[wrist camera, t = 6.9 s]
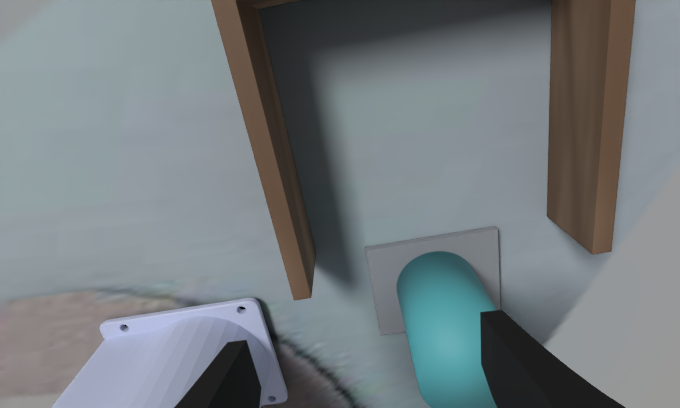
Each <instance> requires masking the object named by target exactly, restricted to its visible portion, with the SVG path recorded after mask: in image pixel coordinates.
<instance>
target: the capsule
mask: <svg viewBox="0 0 680 408" xmlns="http://www.w3.org/2000/svg"><path fill="white" fill-rule="evenodd" d="M396 288H397V295H398V299H399V304H400V308H401V312H402V317H403V321H404V325H405V330H406V334H407V338H408V343H409V347H410V351H411V356H412V360H413V364H414V369H415V373H416V377H417V382H418V386H419V390H420V393H421V396H422V397H423V399H424V400H425V402H426V403H427V404H428V405H429V406H430V407H432V408H497V406H496V404H495V402H494V400H493V397H492V395H491V392H490V389H489V386H488V383H487V380H486V377H485V374H484V371H483V368H482V365H481V326H480V312H486V311H494V310H497V309H496V307H495V306H494V304H493V302H492V301H491V299H490V297H489V295H488V294H487V292H486V290H485V289H484V287H483V285H482V283H481V282H480V280H479V278H478V277H477V275H476V273H475V272H474V270H473V268H472V267H471V265H470V264H469V263H468V262H467V261H466V260H465V259H464V258H462V257H461V256H459V255H457V254H454V253H451V252H445V251H435V252H429V253H425V254H422V255H420V256H418V257H416V258H415V259H413V260H412V261H410V262H409V263H408V264H407V265H406V266H405V267H404V268H403V270H402V271H401V273H400V275H399V277H398V280H397V287H396Z"/></svg>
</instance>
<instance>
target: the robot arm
mask: <svg viewBox="0 0 680 408" xmlns="http://www.w3.org/2000/svg"><path fill="white" fill-rule="evenodd" d="M240 306H243V307H244V308H245V309H240V308H239V307H240ZM124 325H127V326H128V327H126V326H124ZM480 326H481V365H482V368H483V371H484V374H485V377H486V380H487V383H488V386H489V389H490V392H491V395H492V397H493V400H494V402H495V404H496V406H497V408H625V407H624V406H622V405H621V404H619V403H618V402H616V401H615V400H613V399H611V398H610V397H608V396H607V395H605V394H604V393H602V392H601V391H600V390H598V389H597V388H595V387H594V386H593V385H591V384H590V383H588V382H587V381H586V380H585V379H583V378H582V377H581V376H579V375H578V374H577V373H575V372H574V371H573V370H571V369H570V368H569V367H567V366H566V365H565V364H564V363H562V362H561V361H560V360H559V359H558V358H556V357H555V356H554V355H553V354H551V353H550V352H549V351H548V350H547V349H545V348H544V347H543V346H542V345H541V344H539V343H538V342H537V341H536V340H535V339H534V338H532V337H531V336H530V335H529V334H528V333H527V332H526V331H525V330H523V329H522V328H521V327H520V326H519V325H518V324H517V323H516V322H515V321H513V320H512V319H511V318H510V317H509V316H508V315H507V314H506V313H505V312H503V311H502V310H494V311H486V312H480ZM100 332H101V334H102V336H103V337H104V339H105V340H104V341H103V342H102V344H101V345H100V346H99V347H98V349H97V350H96V351H95V352H94V354H93V355H92V356H91V358H90V359H89V360H88V361H87V363H86V364H85V365H84V367H83V368H82V369H81V370H80V372H79V373H78V374H77V375H76V377H75V378H74V379H73V381H72V382H71V383H70V384H69V386H68V387H67V388H66V390H65V391H64V392H63V393H62V395H61V396H60V397H59V398H58V400H57V401H56V402H55V404H54V405H53V406H52V408H261V406H263V405H270V404H277V403H283V402H285V401H286V400H287V398H288V391H287V388H286V385H285V382H284V379H283V375H282V372H281V369H280V366H279V363H278V360H277V357H276V353H275V350H274V347H273V344H272V341H271V338H270V335H269V331H268V328H267V325H266V322H265V319H264V316H263V313H262V310H261V306H260V303H259V302H258V301H257V300H256V299H254V298H245V299H238V300H232V301H225V302H219V303H213V304H206V305H200V306H193V307H187V308H180V309H174V310H168V311H161V312H155V313H148V314H142V315H135V316H129V317H123V318H116V319H110V320H106V321H104V322H103V323H102V325H101V326H100ZM271 396H274V397H271Z"/></svg>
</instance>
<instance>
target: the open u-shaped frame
mask: <svg viewBox="0 0 680 408" xmlns="http://www.w3.org/2000/svg"><path fill="white" fill-rule="evenodd" d="M295 1H299V0H211V2H212V6H213V9H214V13H215V16H216V20H217V24H218V27H219V31H220V35H221V38H222V42H223V45H224V49H225V53H226V56H227V60H228V63H229V67H230V71H231V74H232V78H233V82H234V85H235V89H236V92H237V96H238V100H239V103H240V107H241V110H242V114H243V118H244V121H245V125H246V129H247V132H248V136H249V139H250V143H251V147H252V150H253V154H254V158H255V161H256V165H257V168H258V172H259V176H260V179H261V183H262V186H263V190H264V194H265V197H266V201H267V205H268V208H269V212H270V215H271V219H272V223H273V226H274V230H275V234H276V237H277V241H278V244H279V248H280V252H281V255H282V259H283V262H284V266H285V270H286V273H287V277H288V281H289V284H290V288H291V291H292V295H293V299H294V300H300V299H307V298H311V295H312V286H313V277H314V267H315V258H316V251H315V247H314V243H313V239H312V234H311V230H310V226H309V222H308V217H307V213H306V209H305V205H304V201H303V196H302V192H301V188H300V184H299V179H298V175H297V171H296V167H295V163H294V158H293V154H292V150H291V146H290V141H289V137H288V133H287V129H286V125H285V120H284V116H283V112H282V108H281V103H280V99H279V95H278V91H277V87H276V82H275V78H274V74H273V70H272V65H271V61H270V57H269V53H268V49H267V44H266V40H265V36H264V32H263V27H262V23H261V19H260V15H259V11H258V9H261V8H266V7H270V6H275V5H280V4H285V3H290V2H295ZM635 3H636V0H552V21H551V64H550V107H549V150H548V193H547V217H549V218H550V219H551V220H552V221H553V222H555V223H556V224H557V225H558V226H559V227H560V228H562V229H563V230H564V231H565V232H566V233H568V234H569V235H570V236H571V237H572V238H573V239H575V240H576V241H577V242H578V243H579V244H580V245H582V246H583V247H584V248H585V249H586V250H588V251H589V252H590V253H591V254H599V253H605V252H611V250H612V240H613V230H614V219H615V209H616V199H617V188H618V178H619V168H620V157H621V147H622V137H623V127H624V116H625V106H626V96H627V85H628V75H629V65H630V54H631V44H632V34H633V23H634V13H635Z"/></svg>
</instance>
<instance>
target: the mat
mask: <svg viewBox="0 0 680 408" xmlns="http://www.w3.org/2000/svg"><path fill="white" fill-rule="evenodd" d="M365 251H366V256H367V262H368V267H369V273H370V279H371V284H372V290H373V295H374V301H375V306H376V312H377V317H378V323H379V328H380V334H381V335H387V334H394V333H401V332H406V330H405V325H404V321H403V317H402V312H401V308H400V304H399V299H398V295H397V288H396V287H397V280H398V277H399V275H400V273H401V271H402V270H403V268H404V267H405V266H406V265H407V264H408V263H409V262H410V261H412V260H413V259H415V258H416V257H418V256H420V255H422V254H425V253H429V252H435V251H445V252H451V253H454V254H457V255H459V256H461V257H462V258H464V259H465V260H466V261H467V262H468V263H469V264H470V265H471V267H472V268H473V270H474V272H475V273H476V275H477V277H478V278H479V280H480V282H481V283H482V285H483V287H484V289H485V290H486V292H487V294H488V295H489V297H490V299H491V301H492V302H493V304H494V306H495V307H496V309H497V310H500V280H499V248H498V229H497V228H496V227H495V226H493V227H487V228H480V229H474V230H468V231H462V232H456V233H449V234H443V235H437V236H431V237H425V238H419V239H412V240H406V241H400V242H394V243H388V244H381V245H375V246H369V247H365Z"/></svg>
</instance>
